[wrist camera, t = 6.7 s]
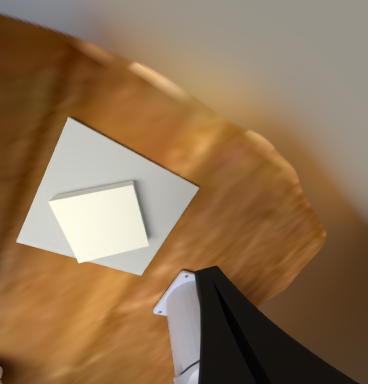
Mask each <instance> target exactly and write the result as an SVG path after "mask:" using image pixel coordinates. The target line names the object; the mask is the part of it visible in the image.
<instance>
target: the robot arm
mask: <svg viewBox="0 0 368 384" xmlns="http://www.w3.org/2000/svg"><path fill="white" fill-rule="evenodd" d="M153 313H155V314H159V315H165V316H167V318H168V326H169V333H170V340H171V348H172V355H173V363H174V370H175V378H174V379H173V380H174V384H359V383H358V382H356V381H354V380H353V379H351V378H350V377H348V376H346V375H345V374H343V373H342V372H340V371H339V370H337V369H336V368H334V367H332V366H331V365H330V364H328V363H326V362H325V361H324V360H322V359H321V358H319V357H318V356H316V355H315V354H314V353H312V352H311V351H309V350H308V349H307V348H305V347H304V346H302V345H301V344H300V343H298V342H297V341H296V340H294V339H293V338H292V337H290V336H289V335H288V334H287V333H285V332H284V331H283V330H282V329H280V328H279V327H278V326H277V325H275V324H274V323H273V322H272V321H271V320H269V319H268V318H267V317H266V316H265V315H264V314H263V313H262V312H260V311H259V310H258V309H257V308H256V307H255V306H254V305H253V304H252V303H251V302H250V301H249V300H248V299H247V298H246V297H245V296H244V295H243V294H242V293H241V292H240V291H239V290H238V289H237V288H236V287H235V286H234V285H233V284H232V283H231V281H230V280H229V279H228V278H227V277H226V276H225V275H224V273H223V272H222V271H221V270H220V268H219V267H218V266H213V267H209V268H205V269H202V270H198V271H196V272H195V273H192V272H188V271H185V270H183V271H181V272H180V273H179V274H178V276H177V277H176V279H175V280H174V281H173V283H172V284H171V285H170V287H169V288H168V289H167V291H166V292H165V294H164V295H163V296H162V298H161V299H160V300H159V302H158V303H157V305H156V306H155V307H154V309H153Z"/></svg>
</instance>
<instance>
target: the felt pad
mask: <svg viewBox="0 0 368 384" xmlns="http://www.w3.org/2000/svg"><path fill="white" fill-rule="evenodd" d="M132 180H133V181H134V185H135V189H136V192H137V196H138V200H139V204H140V208H141V212H142V215H143V219H144V223H145V227H146V231H147V234H148V238H149V246H147V247H143V248H139V249H134V250H130V251H126V252H122V253H118V254H114V255H110V256H106V257H102V258H98V259H94V260H90V261H89V262H92V263H96V264H100V265H103V266H107V267H111V268H115V269H118V270H122V271H126V272H129V273H133V274H137V275H140V276H141V275H142V273H143V272H144V270H145V269H146V267H147V266H148V264H149V263H150V261H151V260H152V258H153V257H154V255H155V254H156V252H157V251H158V249H159V248H160V246H161V245H162V243H163V242H164V240H165V239H166V237H167V236H168V234H169V233H170V231H171V230H172V228H173V227H174V225H175V224H176V222H177V221H178V219H179V218H180V216H181V215H182V213H183V212H184V210H185V209H186V207H187V206H188V204H189V203H190V201H191V200H192V198H193V197H194V195H195V194H196V192H197V191H198V189H199V187H198V186H196V185H194V184H193V183H191V182H189V181H187V180H185V179H183V178H182V177H180V176H178V175H176V174H174V173H172V172H170V171H169V170H167V169H165V168H163V167H161V166H159V165H158V164H156V163H154V162H152V161H150V160H148V159H147V158H145V157H143V156H141V155H139V154H137V153H135V152H134V151H132V150H130V149H128V148H126V147H124V146H123V145H121V144H119V143H117V142H115V141H113V140H112V139H110V138H108V137H106V136H104V135H102V134H101V133H99V132H97V131H95V130H93V129H91V128H89V127H88V126H86V125H84V124H82V123H80V122H78V121H77V120H75V119H73V118H71V117H68V119H67V122H66V124H65V127H64V129H63V131H62V134H61V136H60V139H59V141H58V143H57V146H56V148H55V151H54V153H53V155H52V158H51V160H50V163H49V165H48V167H47V170H46V172H45V175H44V177H43V179H42V182H41V184H40V186H39V189H38V191H37V194H36V196H35V198H34V201H33V203H32V206H31V208H30V210H29V213H28V215H27V218H26V220H25V222H24V225H23V227H22V230H21V232H20V234H19V237H18V239H17V242H18V243H22V244H26V245H29V246H33V247H37V248H41V249H44V250H48V251H52V252H55V253H59V254H63V255H66V256H70V257H74V258H76V256H75V254H74V252H73V250H72V248H71V246H70V244H69V242H68V240H67V238H66V236H65V234H64V232H63V230H62V228H61V226H60V224H59V222H58V220H57V218H56V217H55V215H54V213H53V211H52V209H51V207H50V205H49V203H48V201H49V200H50V199H51V198H52V197H53V196H54V195H60V194H65V193H70V192H75V191H80V190H85V189H91V188H96V187H101V186H106V185H111V184H117V183H122V182H127V181H132Z"/></svg>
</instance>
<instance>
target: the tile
mask: <svg viewBox="0 0 368 384" xmlns="http://www.w3.org/2000/svg"><path fill="white" fill-rule="evenodd" d="M48 203H49V205H50V207H51V209H52V211H53V213H54V215H55V217H56V218H57V220H58V222H59V224H60V226H61V228H62V230H63V232H64V234H65V236H66V238H67V240H68V242H69V244H70V246H71V248H72V250H73V252H74V254H75V256H76V258H77V260H78V262H79V263H82V262H86V261H90V260H94V259H98V258H102V257H106V256H110V255H114V254H118V253H122V252H126V251H130V250H134V249H139V248H143V247H147V246H149V238H148V234H147V231H146V227H145V223H144V219H143V215H142V212H141V208H140V204H139V200H138V196H137V192H136V189H135V185H134V181H133V180H132V181H127V182H122V183H117V184H111V185H106V186H101V187H96V188H91V189H85V190H80V191H75V192H70V193H65V194H60V195H54V196H53V197H52V198H51V199H50V200H49V201H48Z"/></svg>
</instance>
